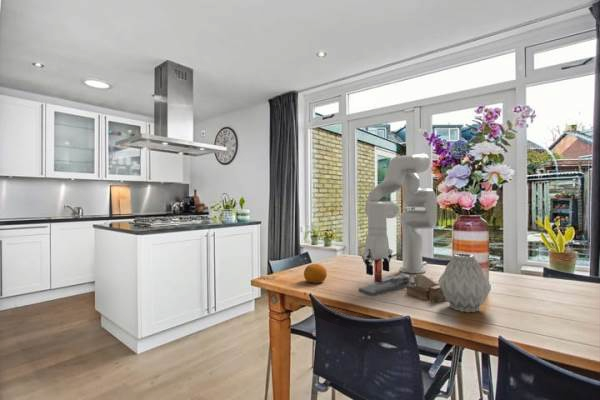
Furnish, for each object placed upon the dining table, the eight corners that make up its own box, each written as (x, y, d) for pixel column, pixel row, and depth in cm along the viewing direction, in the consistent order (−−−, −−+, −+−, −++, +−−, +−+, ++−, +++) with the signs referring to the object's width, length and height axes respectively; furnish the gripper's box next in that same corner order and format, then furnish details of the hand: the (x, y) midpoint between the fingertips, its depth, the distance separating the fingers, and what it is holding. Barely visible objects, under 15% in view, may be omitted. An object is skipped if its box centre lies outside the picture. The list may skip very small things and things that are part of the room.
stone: (436, 294, 128) (445, 278, 123) (434, 306, 123) (443, 290, 118) (411, 283, 132) (418, 266, 126) (407, 294, 127) (415, 278, 121)
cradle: (426, 288, 133) (426, 276, 133) (454, 295, 123) (454, 283, 122) (406, 293, 126) (406, 281, 126) (435, 302, 115) (434, 288, 115)
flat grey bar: (400, 280, 145) (400, 275, 145) (415, 284, 138) (415, 279, 138) (358, 291, 130) (358, 285, 130) (373, 295, 124) (373, 289, 124)
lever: (403, 277, 143) (403, 253, 143) (414, 279, 139) (414, 255, 139) (371, 284, 132) (371, 259, 132) (382, 288, 127) (382, 261, 127)
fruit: (327, 285, 140) (327, 267, 140) (303, 285, 140) (303, 267, 140) (326, 278, 151) (325, 262, 151) (304, 279, 151) (303, 262, 151)
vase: (428, 303, 114) (428, 252, 114) (465, 298, 119) (465, 249, 119) (463, 320, 99) (462, 261, 99) (504, 314, 103) (503, 257, 103)
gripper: (384, 229, 139) (385, 268, 139) (355, 232, 129) (356, 274, 130) (398, 230, 132) (399, 271, 133) (369, 234, 123) (369, 278, 123)
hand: (377, 272), depth 131 cm, fingers open, 9 cm apart
